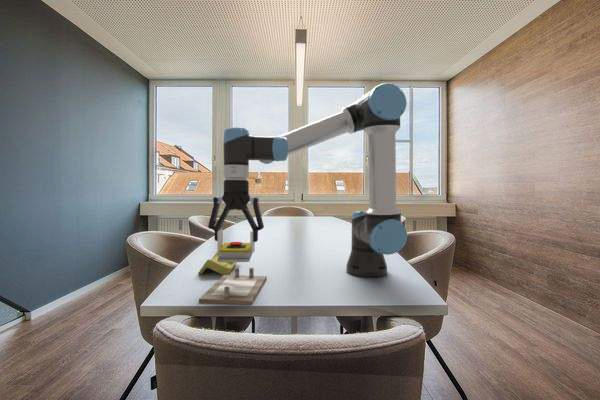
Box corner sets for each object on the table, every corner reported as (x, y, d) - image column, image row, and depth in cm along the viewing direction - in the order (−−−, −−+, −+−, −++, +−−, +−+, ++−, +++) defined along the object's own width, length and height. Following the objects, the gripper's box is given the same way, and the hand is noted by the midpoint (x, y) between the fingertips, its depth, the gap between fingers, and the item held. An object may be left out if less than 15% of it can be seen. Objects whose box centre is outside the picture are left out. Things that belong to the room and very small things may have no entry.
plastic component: (230, 269, 113) (204, 257, 113) (221, 287, 114) (196, 275, 114) (242, 253, 132) (220, 242, 132) (235, 268, 133) (213, 258, 133)
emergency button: (216, 246, 91) (225, 237, 106) (216, 262, 91) (225, 250, 106) (249, 247, 91) (253, 237, 106) (249, 262, 92) (253, 250, 107)
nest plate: (224, 277, 111) (224, 266, 111) (266, 278, 110) (266, 267, 110) (198, 302, 88) (198, 288, 88) (252, 304, 87) (252, 290, 87)
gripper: (196, 178, 94) (196, 253, 95) (270, 179, 93) (269, 255, 94) (205, 179, 101) (205, 248, 103) (274, 180, 100) (273, 250, 101)
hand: (236, 251), depth 98 cm, fingers closed on emergency button, 9 cm apart
